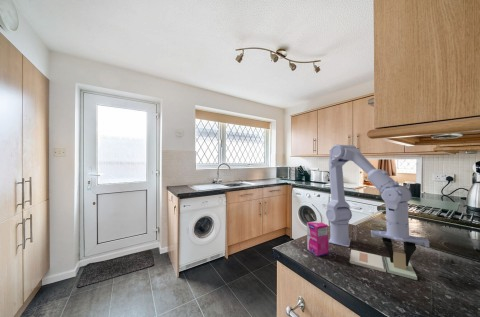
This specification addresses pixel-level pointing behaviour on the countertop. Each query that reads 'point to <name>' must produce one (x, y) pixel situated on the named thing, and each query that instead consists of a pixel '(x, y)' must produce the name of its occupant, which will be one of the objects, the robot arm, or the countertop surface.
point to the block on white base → (399, 265)
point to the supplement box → (317, 238)
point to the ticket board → (367, 260)
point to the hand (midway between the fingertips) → (398, 263)
